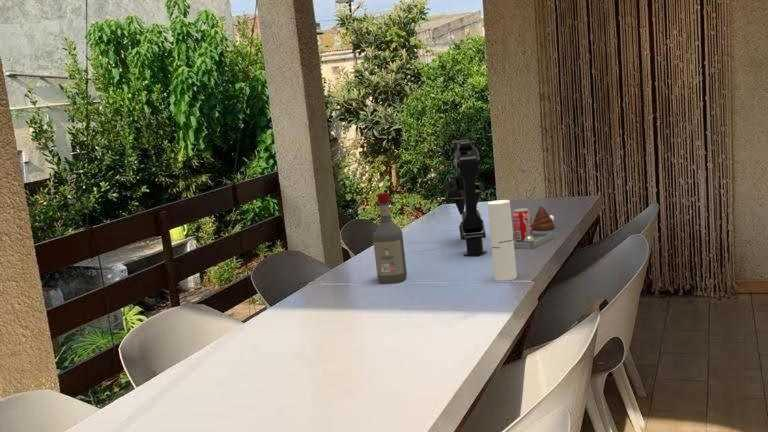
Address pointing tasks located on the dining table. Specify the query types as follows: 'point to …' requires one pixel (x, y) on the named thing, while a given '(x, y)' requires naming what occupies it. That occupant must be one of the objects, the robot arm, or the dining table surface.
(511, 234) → the cylindrical container
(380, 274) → the liquor
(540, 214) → the poop emoji
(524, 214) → the soda can
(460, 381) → the dining table surface
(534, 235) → the gray tray
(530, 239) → the steel mixing ball
